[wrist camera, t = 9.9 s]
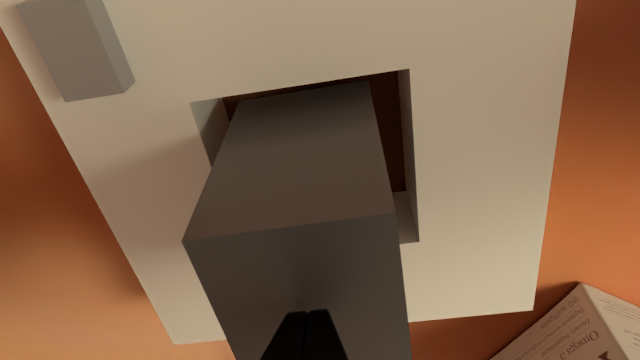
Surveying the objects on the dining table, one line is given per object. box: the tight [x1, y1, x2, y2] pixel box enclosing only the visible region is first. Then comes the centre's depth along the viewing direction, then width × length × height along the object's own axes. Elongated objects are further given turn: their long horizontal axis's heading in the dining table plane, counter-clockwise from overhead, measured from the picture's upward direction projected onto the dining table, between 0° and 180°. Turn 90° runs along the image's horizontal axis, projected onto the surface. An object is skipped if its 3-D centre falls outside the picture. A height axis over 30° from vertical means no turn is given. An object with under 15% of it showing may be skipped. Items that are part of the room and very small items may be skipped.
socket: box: [0, 0, 576, 345], centre depth 14 cm, size 14×14×4 cm
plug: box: [181, 80, 412, 360], centre depth 13 cm, size 4×4×8 cm
